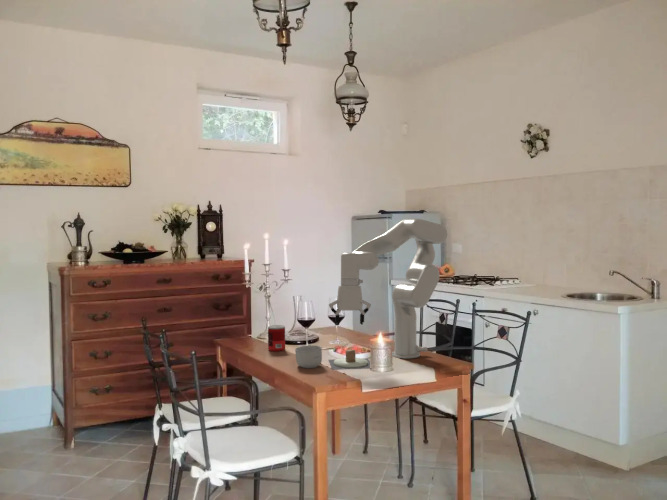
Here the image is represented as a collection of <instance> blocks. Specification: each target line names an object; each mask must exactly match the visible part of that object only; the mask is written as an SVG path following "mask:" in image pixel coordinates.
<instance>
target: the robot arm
mask: <svg viewBox="0 0 667 500" xmlns="http://www.w3.org/2000/svg"><path fill="white" fill-rule="evenodd" d="M447 238H448V230H447V229H446V227H445V226H444V225H443V224H440V223H438V222H437V223H436V222H433V221H429V220H427V219H423V218H404V219H402V220H401V221H399V222H397V223H396V224H395V225H394V226H392V227H391V228H390V229H389V230H387V231H386V232H385V233H383V234H381V235H378V236H377V237H375V238H373V239H370V240H368V241H367V242H365V243H363V244H362V245H360V246H359V247H357V248H356V249H355V250H353V251H352V252H343V253H342V254H341V255H340V285H338V289H337V298H336V300H334V301H332V302H331V303H329V304H328V307H329V308H330V310H331V311H332V313H333V314H334V315H335V323H336V325H337V326H339V325H340V313H341V312H342V311H348V312H349V311H353V312H355V311H359V313H360V314H359V324H360V325H363V324H364V323H365V315H366V314H367V313H368V311H369V309H370V308H371V306H372V304H371V303H370V302H368V301H367V300H364V299H363V290H362V286H361V285H360V284H363V283H364V282H363V279H360V270H362V271H373V270H374V269H376V268H377V267H378V266H379V264H380V263H379V262H380V259H379V256H380V255H385V254H389V253H392V252H394V251H396V250H398V249H399V248H400V247H402V246H403V245H404V244H405V243H407V242H408V241H409V240H411V239H414V241H415V243H416V252H415V254H414V257H413V258H412V260H411V262H410V264H409V266H408V268H407V270H406V272H405V278H406V281H407V282H408V283H400V284H397V285H396V286H395V287H394V288H393V290H392V294H391V297H392V303H393V308H394V310H393V311H394V350H393V351H391V352H392V356H391V357H393V358H398V359H404V360H405V359H409V360H410V359H416V358H420V357H421V352H423V353H425V352H428V347H427V346H419V345H417V312H416V308H417V309H421V308H424V307H425V306H426V305H427V304H428V303H429V301H430V299H431V297H432V296H433V293H434V291H435V289H436V287H437V286H438V283H439V280H440V271H439V270H440V269H439V268H438V267H437V266H436V265H434V261H435V258H436V253H435V252H436V251H435V248H434V244H435V245H440V244H443V243H444V242H445V241H446V240H447ZM335 305H336V307H337V309H335V307H334V306H335ZM363 305H366V306H365V307H364V309H363Z"/></svg>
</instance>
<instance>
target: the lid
mask: <svg viewBox="0 0 667 500" xmlns="http://www.w3.org/2000/svg"><path fill="white" fill-rule="evenodd" d="M365 359H366V358H361V357H357V356H356V350H355V349H346V350H345V357H341V358H336V360H335V359H333V360H334V365H335V366H338V367H343V368H358V367H364V366H366V365H367V364H368V361H367V360H365Z"/></svg>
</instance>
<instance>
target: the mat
mask: <svg viewBox="0 0 667 500" xmlns="http://www.w3.org/2000/svg"><path fill="white" fill-rule="evenodd" d="M336 359H337V358H336ZM336 359H335V358H334V359H328V360H327V361H328V363H329V365H330V368H331V370H332V371H334V370H361V369H362V370H363V369H364V370H365V369H371V368H370V362H371V361H370V359H369V358H367V357H366V358H364V359H365V360H367V361H368V364H367V365H366V366H364V367H358V368H343V367H338V366H335V365H334V360H336Z"/></svg>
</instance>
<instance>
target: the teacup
mask: <svg viewBox="0 0 667 500" xmlns="http://www.w3.org/2000/svg"><path fill="white" fill-rule="evenodd" d="M322 349H323V348H322V346H320V345H314V344H313V345H312V344H308V345H302V346H298V347H296V348H295V349H294V351H295V360H296V364H297V365H298V366H299V367H300V368H302V369H315V368H318V367H319V365H320V364H321V363H322V359H323V355H322V354H323V351H322Z"/></svg>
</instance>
